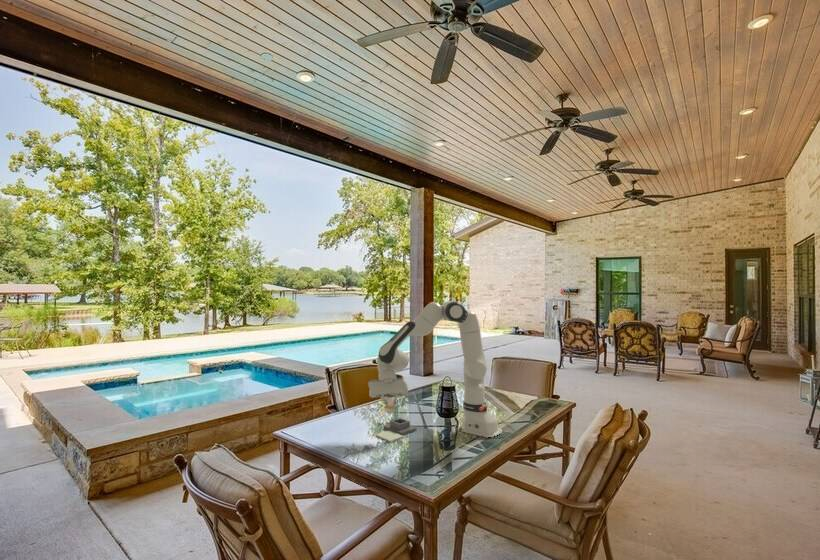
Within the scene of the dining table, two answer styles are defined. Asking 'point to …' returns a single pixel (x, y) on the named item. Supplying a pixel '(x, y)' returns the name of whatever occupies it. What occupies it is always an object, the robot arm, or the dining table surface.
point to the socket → (400, 426)
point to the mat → (389, 436)
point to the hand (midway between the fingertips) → (390, 403)
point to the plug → (390, 403)
